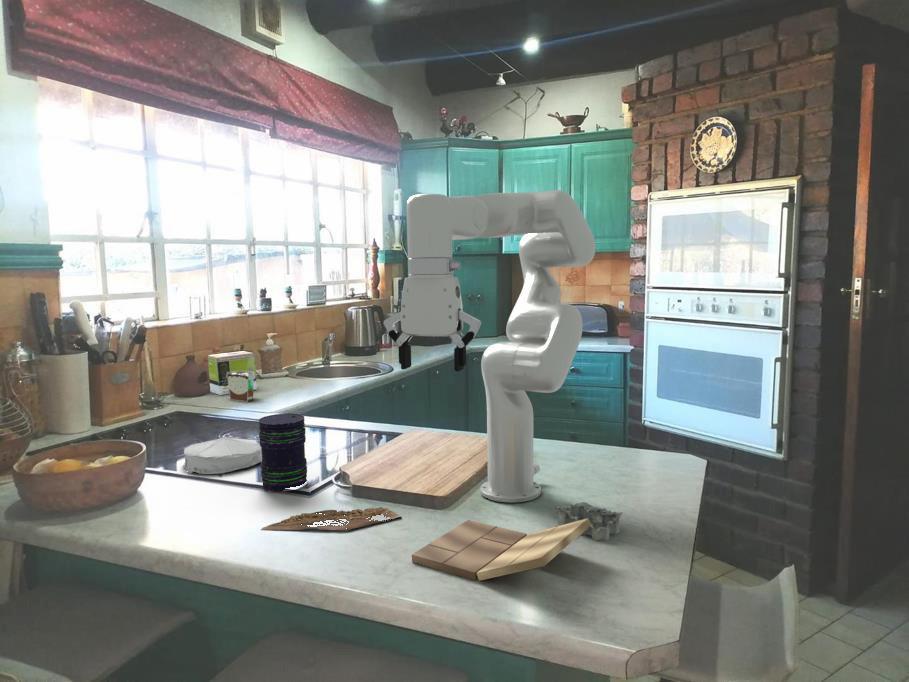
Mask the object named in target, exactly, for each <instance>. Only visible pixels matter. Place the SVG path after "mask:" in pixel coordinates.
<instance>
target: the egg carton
mask: <svg viewBox="0 0 909 682" xmlns="http://www.w3.org/2000/svg"><path fill="white" fill-rule="evenodd" d="M555 510H557V511H558V517H557V520H558V521H557V523H558V524H557V526H561V525H565V524H568V523H572V522H576V521H579V519H582V520H584V519H587V518H588V520H589V522H590V524H591V526H590V527H588V528H587V529H586V530H585V531H584V532H583V533H582V534H580V535H579V536H581V535H589V536H590V537H591V539H592V540H595V541H598V540H606V541H607V540H609V539H610V536H611V535H610V534H612V535H613V534H614V535H617V534H620V519H621V516H622V515H623V513H624V512H621V511H620V512H617V511H611V510H608V509H606V507H604V508H601V507H599V506H593V505H592V504H589V503H588V502H585V501H580V502H578V503H574V504H571V505H570V506H569V507H568V506H566V507H565V509H563V508H562V507H561V506H555Z"/></svg>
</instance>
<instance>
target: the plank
mask: <svg viewBox="0 0 909 682" xmlns="http://www.w3.org/2000/svg"><path fill="white" fill-rule="evenodd" d="M590 526H591V524H590V522H589V520H588V518H587V519H580V520H578V521H576V522H572V523H568V524H565V525H561V526H559V525H556V526H554V527H549V528H547V529H543V530H539V531H535V532H531V533H527V536H525V537H524V538H523V539H521V540H520V541H518V542H517V543H516V544H514V545H513V546H512V547H510V548H509V549H508V550H506V551H505V552H504V553H502V554H501V555H500V556H498V557H497V558H496V559H494V560H493V561H492V562H490V563H489V564H488V565H486V566H485V567H484V568H482V569H481V570H480V571H478V572H477V576H478V578H477V580H478V581H479V582H480V581H485V580H488V579H493V578H497V577H503V576H506V575H511V574H514V573H520V572H523V571H528V570H531V569H536V568H541V567H545V566H546V565H547V564H548V563H550V562H551V560H553V559H554V558H555V557H557V555H559V553H561V552H562V551H563V550H564V549H566V548H567V547H568V546H570V544H572V542H574V541H575V540H576V539H577V538H578V537H580V536H581V535H580V534H582V533H583V532H584V531H585V530H586V529H587V528H588V527H590ZM582 535H583V534H582Z"/></svg>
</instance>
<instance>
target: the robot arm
mask: <svg viewBox="0 0 909 682" xmlns="http://www.w3.org/2000/svg"><path fill="white" fill-rule="evenodd" d="M406 231H407V232H406V233H407V235H406V236H407V269H408V271H407V275H408V277H404V280H403V287H402V293H401V303H400V305H401V306H400V311H398V312H396V313H394V314H393V315H392V316H389V317H388V318H386V319H384V320H383V326H384V327H385V329H386V331H387V333H388V336H389V337H390V338H391V339H392V341H393V342H394V343H395V346H397V347H398V364H399V365H400V369H401V370H404V371H405V370H407V369H409V368H411V367H412V345H411V344H409V342H410V341H411V339H412V338H413V337H449V338H450V339H451V340H452V341H453V343H455V345H456V346H455V347H454V349H453V359H454V360H453V361H454V363H453V364H454V366H453V367H454V369H453V370H454V371H455V372H460V371H462V370H464V367H465V366H466V365H467V347H468V345H469V344H470V343H471V342H472V341H473V339H475V338H476V336H477V333H478V331H479V329H480V327H481V325H482V321H481V319H478V318H476V317H475V316H472V315H471V314H469V313H467V312H465V311H463V301H462V294H461V293H462V291H461V286H460V282H459V278H458V276H454V274H455V271H458V270H461V267H462V265H461V264H462V263H461V262H460V261H456V260H455V259H454V258H453V241H458V240H459V241H461V240H462V241H463V240H473V239H492V238H495V239H497V238H505V237H515V236H522V237H521V239H520V241H519V244H518V255H519V260H520V265H521V272H522V277H523V286H522V289H521V290H520V294H519V296H518V299H517V300H516V302H515V305H514V307H513V309H512V311H511V313H510V315H509V317H508V320H507V324H506V328H505V332H506V337H507V338H508V340H509V341H499V342H496V343H495V342H494V343H493V344H491V345H489V346H488V347H487V348H486V349H485V350H484V352H483V354H482V357H481V363H480V365H481V368H480V369H481V375H482V380H483V384H484V385H483V386H484V389H485V398H486V435H487V438H486V440H487V441H486V445H487V447H486V448H487V449H486V451H487V481H485V482H484V483H482V484H481V485H480V495H481V496H483V497H484V498H485V499H487V498H488V500H490V501H494V502H497V503H498V502H499V503H510V504H513V503H524V502H529V501H532V500H535V499H537V498H538V497H540V496H541V494H542V487H541V485H540V484H539V483H537V482H535V481H534V476H535V475H536V474H538V473H540V471H541V468H540V465H538V464H534V409H533V406H532V402H531V400H530V398H529V396H528V394H527V392H535V393H543V394H544V393H547V394H549V393H550V394H551V393H554V392H557V391H558V390H560V388H561V387H562V386H563V385H564V383H565V380H566V378H567V377H568V373H569V372H570V368H571V366H572V363H573V361H574V358H575V356H576V354H577V352H578V351H577V350H578V349H579V345H580V342H581V340H582V339H581V338H582V335H583V317H582V313H580V311H579V309H578V308H577V307H576V306H574V305H572V304H569V303H565V302H564V303H562V302H560V300H561V297H562V290H561V287H560V285H559V283H558V281H557V280H556V279H555V277H554V276H553V275H552V273H551V271H550V269H549V268H581V267H585V266H587V265H589V264H590V263H591V262H592V261H593V259H594V257H595V254H596V240H595V236H594V234H593V231H592V229H591V227H590V226H589V224H588V222H587V220H586V218H585V216H584V213H583V212H582V211H581V209H580V207H579V205H578V204H577V201H575V199H574V198H573V197H572V195H570V194H569V193H568V192H566V191H565V190H561V189H556V190H543V191H541V190H540V191H531V192H530V191H529V192H494V193H492V192H491V193H483V194H478V195H460V196H459V195H458V196H447V195H445V194H442V193H441V194H440V193H420V194H414V195H412V196H410V197H409V198H408V199H407V201H406ZM399 321H400V330H401V332H402V333H401V332H399V330H398V329H397V328H396V325H395V324H396V323H398V322H399ZM464 323H466V324H468V325H469V329H468V331H467V332H466V333H465V334H463V333H462V332H463V330H464Z"/></svg>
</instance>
